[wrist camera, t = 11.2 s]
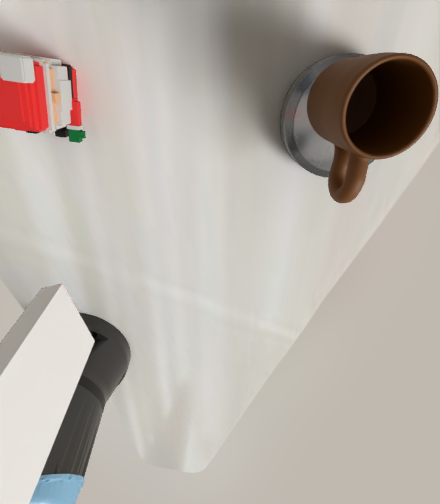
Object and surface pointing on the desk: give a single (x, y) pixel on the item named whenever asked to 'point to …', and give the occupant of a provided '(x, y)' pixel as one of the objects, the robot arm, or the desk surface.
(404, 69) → the mug
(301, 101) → the grey metal dish
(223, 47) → the desk surface
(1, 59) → the figurine
